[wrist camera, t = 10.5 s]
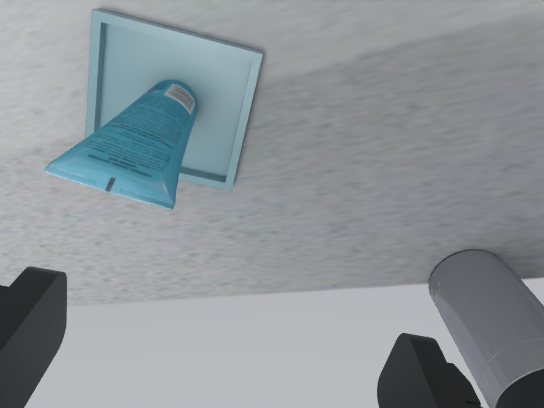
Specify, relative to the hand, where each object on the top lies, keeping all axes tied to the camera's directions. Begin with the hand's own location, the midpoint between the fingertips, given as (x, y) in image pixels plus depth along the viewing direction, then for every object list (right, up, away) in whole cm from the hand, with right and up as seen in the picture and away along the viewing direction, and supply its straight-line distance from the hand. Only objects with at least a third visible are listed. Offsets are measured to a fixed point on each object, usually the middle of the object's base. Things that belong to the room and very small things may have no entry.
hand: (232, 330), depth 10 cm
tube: (-9, +13, +32) cm, 35 cm away
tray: (-9, +13, +32) cm, 36 cm away
